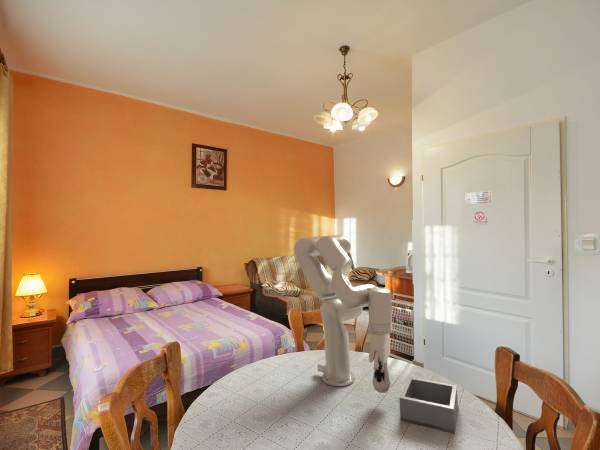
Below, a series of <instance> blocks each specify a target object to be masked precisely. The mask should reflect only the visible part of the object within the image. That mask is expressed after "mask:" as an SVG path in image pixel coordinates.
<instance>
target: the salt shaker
mask: <svg viewBox="0 0 600 450" xmlns="http://www.w3.org/2000/svg"><path fill="white" fill-rule="evenodd" d="M379 362H381V361H379ZM379 366H380V367H381V365H379ZM383 372H385V378H384V381H383V378H382V381H381V382H377V380H376V378H375V371H373V375H372V376H373V377H372V385H373V388H374V390H375V391H376V392H378V393H380V394H381V393H384V394H386V393H387V392H388V391H389V389H390V386H391V381H390V375H389V371H388V363H387V364H386V362H385V363H384V371H383Z"/></svg>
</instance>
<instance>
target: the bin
mask: <svg viewBox="0 0 600 450" xmlns="http://www.w3.org/2000/svg"><path fill="white" fill-rule="evenodd" d="M458 409H459V401H458V384H450V383H445V382H440V381H434V380H428V379H423V378H417V377H412V376H409V377H408V378H407V380H406V382H405V384H404V387H403V389H402V391H401V394H400V396H399V413H400V414H399V415H400V416H399V418H400V422H404V423H407V424H409V423H410V424H413V425H417V426H421V427H424V428H429V429H433V430H436V431H437V430H438V431H442V432H445V433H449V434H454V435H455V434H456V428H457V420H458Z"/></svg>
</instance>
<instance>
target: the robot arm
mask: <svg viewBox="0 0 600 450" xmlns="http://www.w3.org/2000/svg"><path fill="white" fill-rule="evenodd" d="M351 249H352V248H351V242H350V239H349V238H348V237H346V236H345V235H343V234H333V235H321V236H306V237H301V238H299V239H297V241H295V243H294V245H293V254H294V258H295V261H296V263H297V264H298V266H299V268H301V270H302V271H303V273H304V274H305V277H306V279H307V280H308V282H309V285H310V286H311V289H312V291H313V293H314V295H315V296H316V297H317V298H318V299H319V300H325V301H324V302H323V303H322V304H321V306H320V315H321V319H322V325H323V333H324V354H325V356H324V357H325V358H324V359H325V364H322V363H318V364H317V371H318V372H320V373H323V374H322V376H321V377H322V382H323V383H325V384H327V385H329V386H332V387H346V386H349V385H351V384H353V383H354V382H355V377H356V376H355V374H354V373H353V372H351V359H350V357H351V356H350V337H349V331H348V329H347V327H346V326H345V324H344V322H347V321H351V320H355V319H358V318H359V317H361V316H362V313H363V309H364V308H365V307H368V331H369V332H370V335H369V344H368V345H369V348H368V362H369V363H370V364H372V363H373V369H374V371H375V378H376V380H377V382H381V381H382V378H383V381H384V378H385V372H383V371H384V363H385V362H386V364H387V365H388V359H389V357H390V355H391V335H390V334H392V332H393V312H392V310H393V307H392V306H393V302H392V300H393V299H392V292H391V290H389V289H387V288H381V287H378V286H376V285H374V284H371V283H370V284H369V283H367V284H366V283H365V284H359V285H352V283H351V282H350V280H349V279H348V278H347V276H345V275H346V273H347V272H348V271H349V270H350V269H351V267H352V265H353V262H352V259H351V258H350V257H349V255H348V254H349V253H350V252H351ZM318 256H321V258H322V259H323V261H324V262H325V263H326V265H327V267H329V269H330V271H331V272H332V274H331V273H330V274H329V273H328V272H327V270H326V268H325V267H324V265H323V264H322V263H321V262H320V261H319V260H317V259H316V258H315V257H318ZM379 361H381V362H379ZM379 365H381V367H380V366H379ZM374 371H373V372H374Z"/></svg>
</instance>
